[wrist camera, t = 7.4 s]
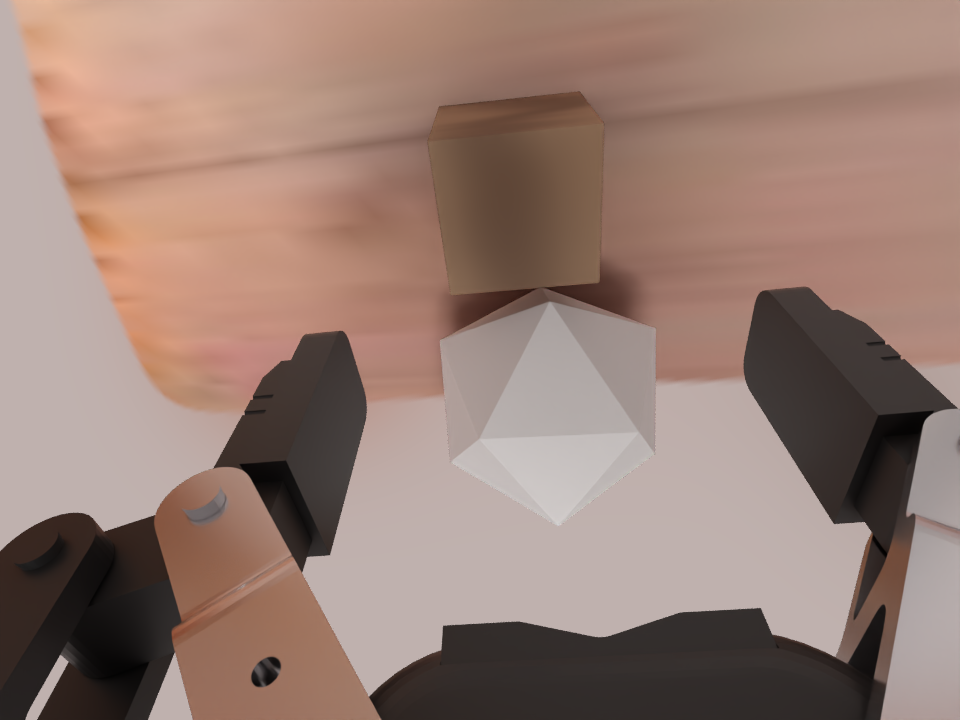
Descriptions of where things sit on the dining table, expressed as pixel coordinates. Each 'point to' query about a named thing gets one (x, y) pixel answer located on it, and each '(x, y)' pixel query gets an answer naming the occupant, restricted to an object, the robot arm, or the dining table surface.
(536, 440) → the die
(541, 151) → the walnut cube
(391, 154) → the dining table surface
